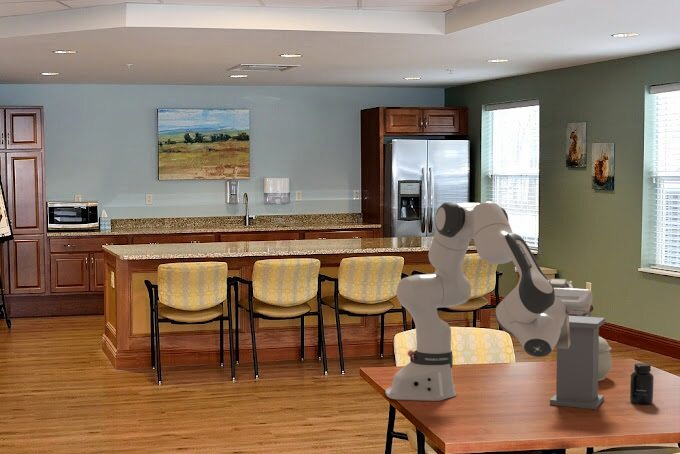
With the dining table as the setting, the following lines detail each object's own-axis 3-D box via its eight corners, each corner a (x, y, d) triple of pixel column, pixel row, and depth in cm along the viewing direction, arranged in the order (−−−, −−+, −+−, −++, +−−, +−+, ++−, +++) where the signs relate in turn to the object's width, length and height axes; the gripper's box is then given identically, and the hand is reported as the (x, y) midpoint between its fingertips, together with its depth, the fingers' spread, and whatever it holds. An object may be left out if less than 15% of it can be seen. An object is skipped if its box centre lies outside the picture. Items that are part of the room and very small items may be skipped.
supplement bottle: (637, 405, 302) (638, 367, 301) (625, 400, 308) (626, 362, 308) (657, 404, 304) (658, 365, 303) (645, 399, 310) (645, 361, 309)
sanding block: (563, 284, 274) (566, 279, 277) (549, 283, 276) (551, 278, 279) (568, 349, 283) (570, 343, 285) (554, 347, 284) (556, 342, 287)
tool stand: (596, 409, 297) (597, 323, 296) (549, 404, 303) (551, 320, 302) (603, 400, 309) (605, 317, 307) (559, 395, 315) (560, 315, 313)
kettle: (605, 386, 328) (606, 312, 327) (550, 381, 336) (551, 309, 335) (618, 372, 351) (620, 303, 349) (567, 368, 359) (568, 300, 357)
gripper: (587, 305, 263) (596, 275, 273) (512, 300, 271) (523, 271, 282) (589, 323, 266) (597, 293, 276) (514, 318, 274) (526, 289, 285)
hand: (559, 282), depth 279 cm, fingers closed on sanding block, 4 cm apart
